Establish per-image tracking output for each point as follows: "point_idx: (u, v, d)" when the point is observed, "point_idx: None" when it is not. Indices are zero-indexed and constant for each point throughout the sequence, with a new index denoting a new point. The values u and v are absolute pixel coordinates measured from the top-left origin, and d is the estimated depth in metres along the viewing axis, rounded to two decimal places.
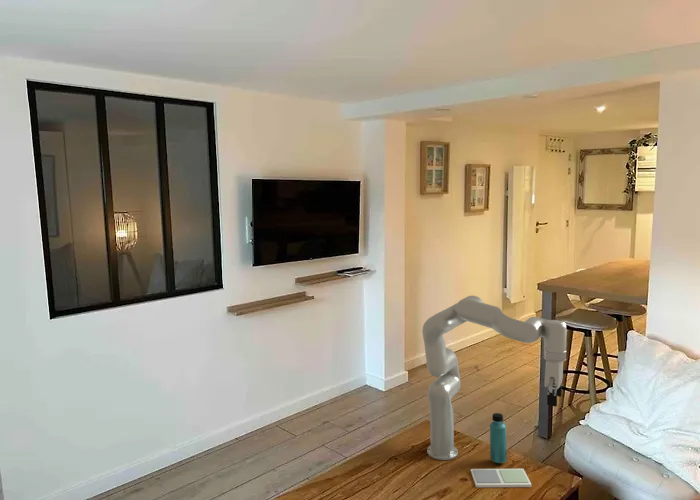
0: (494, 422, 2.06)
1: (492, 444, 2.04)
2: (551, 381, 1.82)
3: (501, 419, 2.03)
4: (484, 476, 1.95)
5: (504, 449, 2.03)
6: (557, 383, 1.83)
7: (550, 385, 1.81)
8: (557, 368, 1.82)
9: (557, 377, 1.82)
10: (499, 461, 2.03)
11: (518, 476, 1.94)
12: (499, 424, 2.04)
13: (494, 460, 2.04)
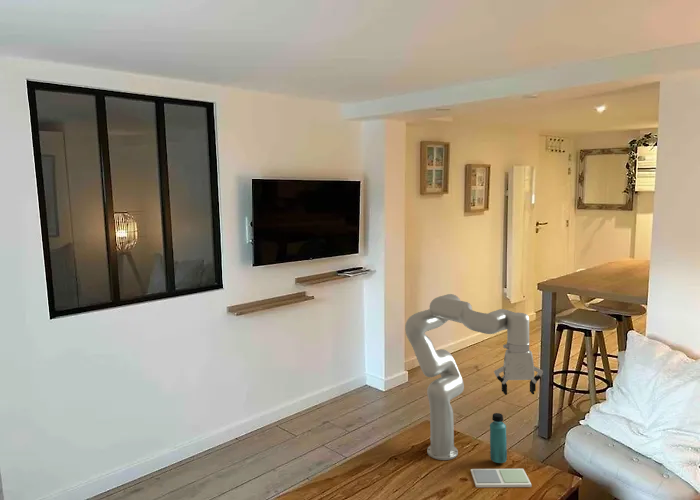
0: (494, 422, 2.06)
1: (492, 444, 2.04)
2: (536, 367, 1.87)
3: (501, 419, 2.03)
4: (484, 476, 1.95)
5: (504, 449, 2.03)
6: None
7: (541, 370, 1.87)
8: None
9: None
10: (499, 461, 2.03)
11: (518, 476, 1.94)
12: (499, 424, 2.04)
13: (494, 460, 2.04)
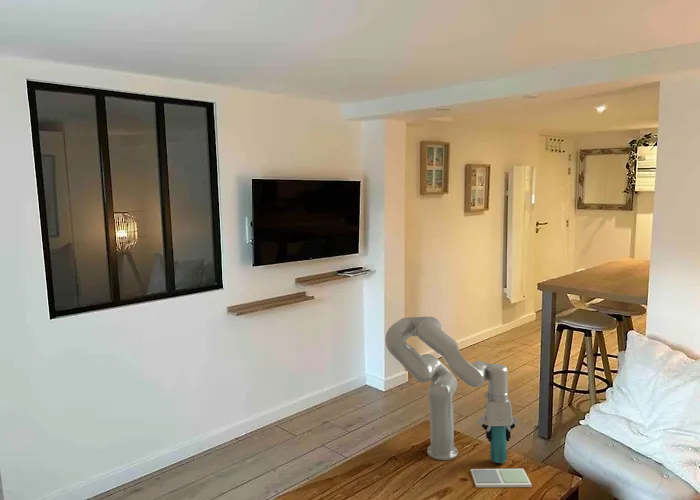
0: None
1: (492, 444, 2.04)
2: (513, 416, 2.04)
3: None
4: (484, 476, 1.95)
5: (504, 449, 2.03)
6: None
7: None
8: None
9: None
10: (499, 461, 2.03)
11: (518, 476, 1.94)
12: None
13: (494, 460, 2.04)
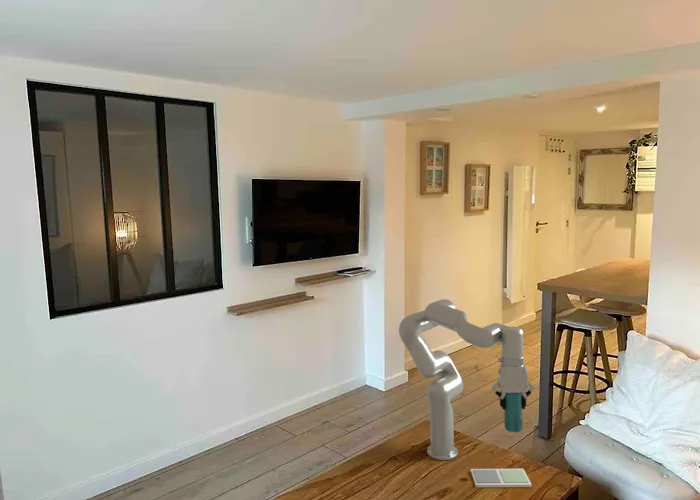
0: None
1: (507, 412, 1.91)
2: None
3: None
4: (484, 476, 1.95)
5: (520, 417, 1.90)
6: None
7: (533, 386, 1.91)
8: None
9: None
10: (514, 430, 1.90)
11: (518, 476, 1.94)
12: None
13: (509, 429, 1.91)
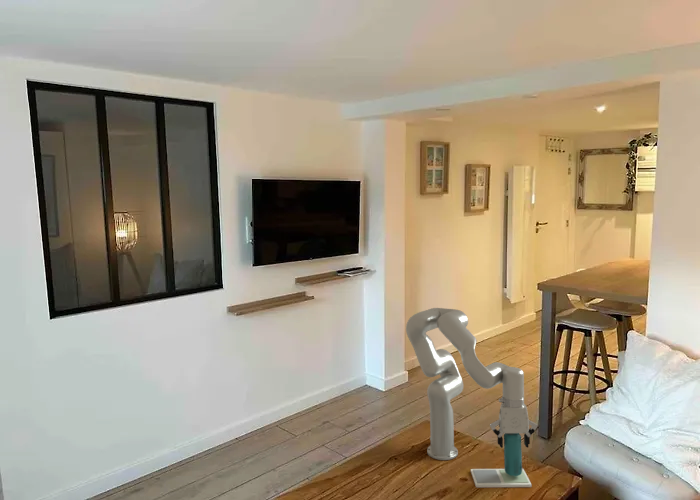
0: None
1: (506, 456, 1.92)
2: (531, 421, 1.92)
3: None
4: (484, 476, 1.95)
5: (519, 461, 1.91)
6: None
7: (535, 423, 1.92)
8: None
9: None
10: (514, 474, 1.91)
11: (518, 476, 1.94)
12: (514, 434, 1.92)
13: (509, 473, 1.92)
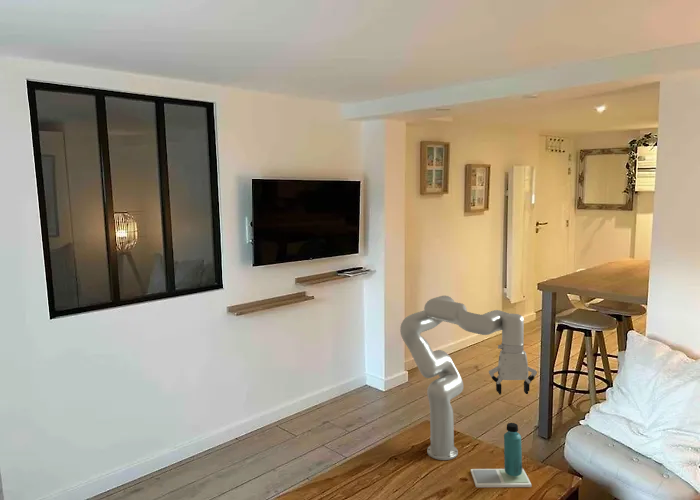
0: (508, 432, 1.94)
1: (506, 456, 1.92)
2: (530, 368, 1.90)
3: (516, 429, 1.91)
4: (484, 476, 1.95)
5: (519, 461, 1.91)
6: None
7: (535, 370, 1.90)
8: None
9: None
10: (514, 474, 1.91)
11: (518, 476, 1.94)
12: (514, 435, 1.92)
13: (509, 473, 1.92)
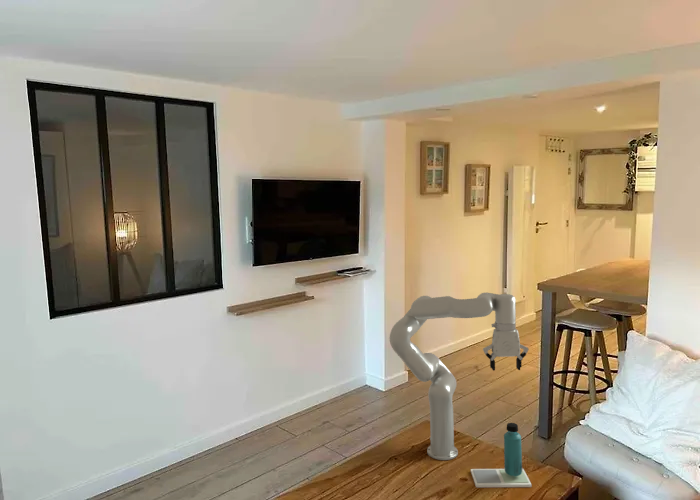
0: (508, 432, 1.94)
1: (506, 456, 1.92)
2: (522, 345, 2.01)
3: (516, 429, 1.91)
4: (484, 476, 1.95)
5: (519, 461, 1.91)
6: None
7: None
8: None
9: None
10: (514, 474, 1.91)
11: (518, 476, 1.94)
12: (514, 434, 1.92)
13: (509, 473, 1.92)
